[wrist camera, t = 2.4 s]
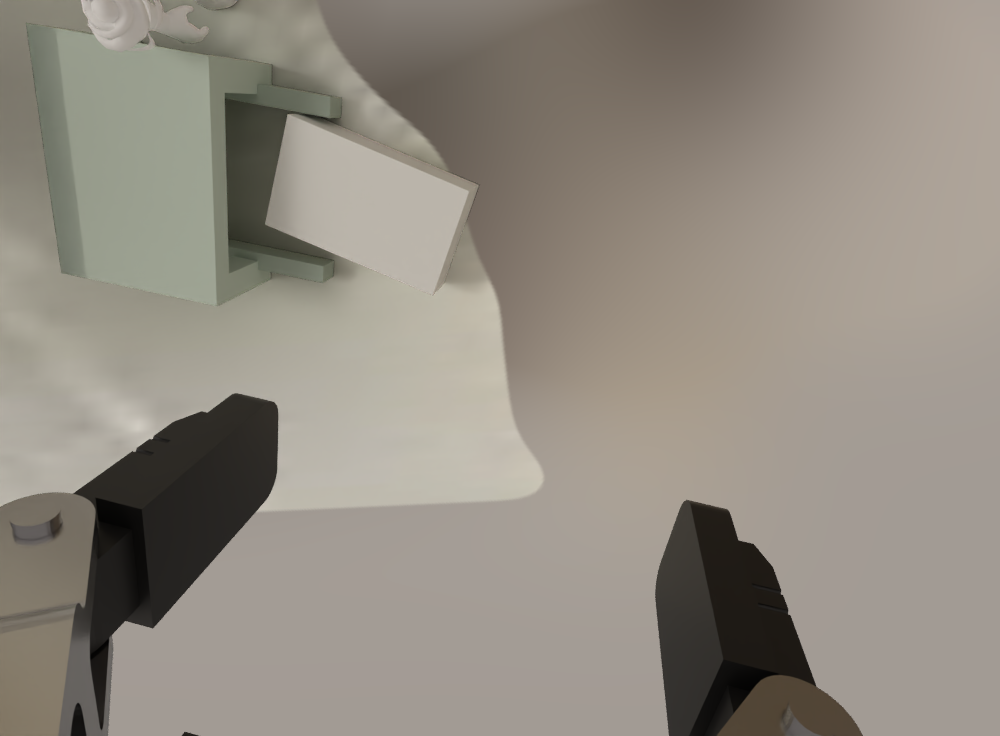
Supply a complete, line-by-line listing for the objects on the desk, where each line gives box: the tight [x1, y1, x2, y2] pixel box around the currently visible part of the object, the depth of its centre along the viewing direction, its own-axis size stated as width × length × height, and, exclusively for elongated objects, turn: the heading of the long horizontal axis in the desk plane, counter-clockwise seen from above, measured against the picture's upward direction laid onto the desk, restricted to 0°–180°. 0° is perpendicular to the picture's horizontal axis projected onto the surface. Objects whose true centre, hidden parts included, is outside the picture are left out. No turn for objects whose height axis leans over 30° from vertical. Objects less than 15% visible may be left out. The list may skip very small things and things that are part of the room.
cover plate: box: [265, 114, 480, 295], centre depth 33 cm, size 6×10×3 cm, turn 69°
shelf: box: [26, 23, 342, 306], centre depth 32 cm, size 12×13×6 cm
